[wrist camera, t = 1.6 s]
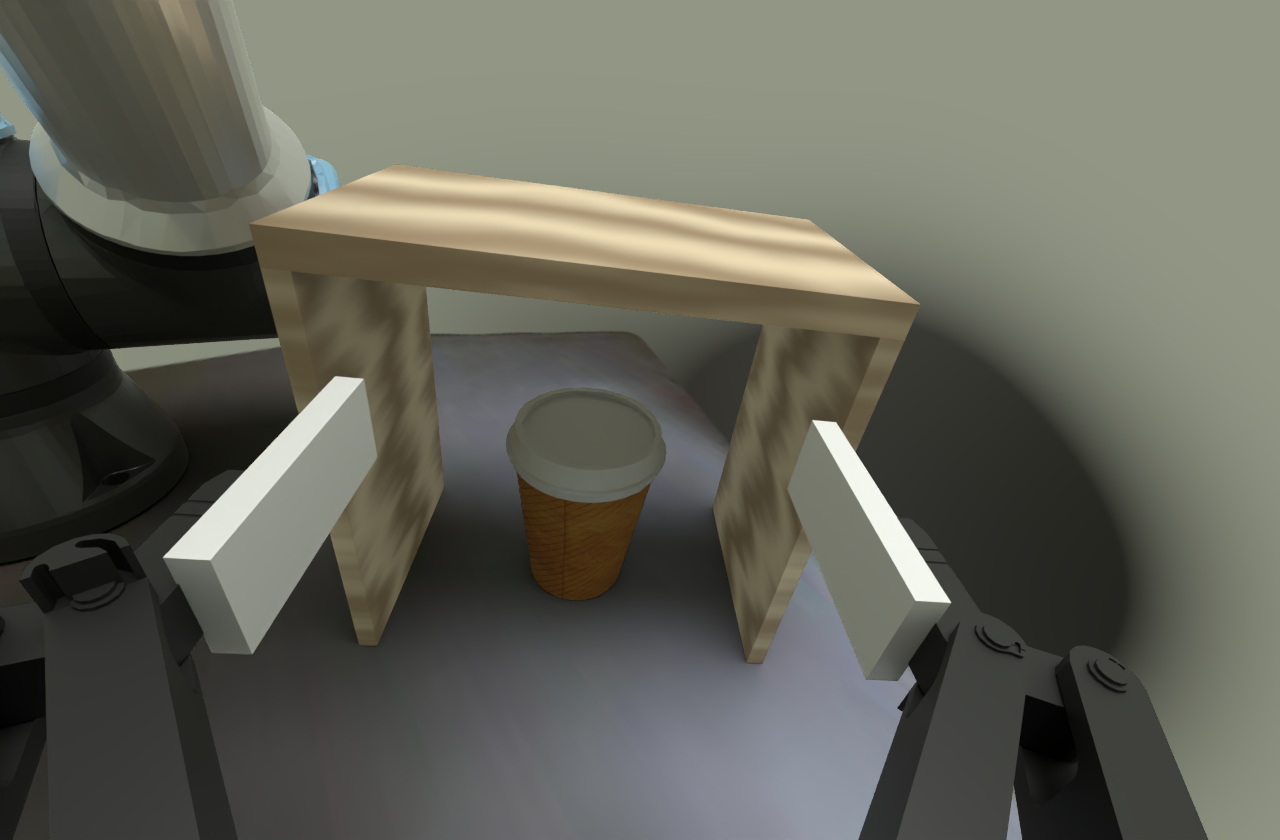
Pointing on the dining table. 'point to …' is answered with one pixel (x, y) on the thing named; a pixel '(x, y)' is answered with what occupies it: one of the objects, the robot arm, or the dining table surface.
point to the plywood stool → (584, 274)
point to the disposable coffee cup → (582, 484)
